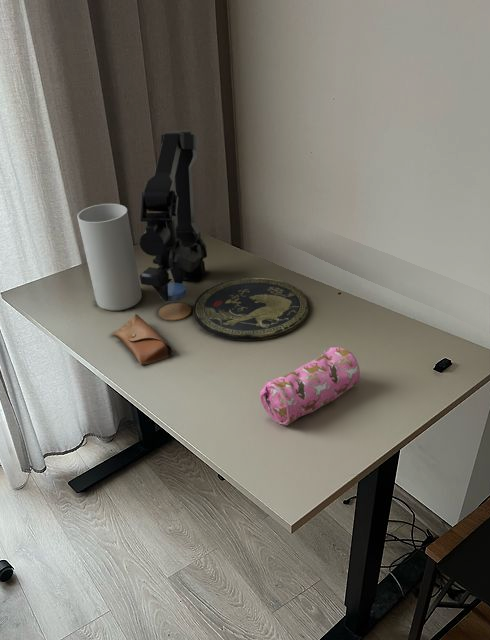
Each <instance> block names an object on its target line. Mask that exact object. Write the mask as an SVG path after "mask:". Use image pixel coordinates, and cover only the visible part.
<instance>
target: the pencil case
mask: <svg viewBox="0 0 490 640" xmlns="http://www.w3.org/2000/svg"><path fill="white" fill-rule="evenodd" d="M360 378H361V369H360V365H359V362H358V360H357V358H356V356H355V354H353V352H352V351H350V350H349V349H347V348H342V347H339V346H335V347H334V346H331V347H330V348H327V347H326V348H325V349H324V350H323V352H322V354H321V355H320V356H318V357H317V358H315V359H313V360H311V361H310V362H307V363H304V364H302V365H301V366H299V367H298V368H296V369H294V370H293V371H291V372H289V373H286V374H284V375H281V376H278V377H276V378H274V379H271V380H269V381H267V382H266V383H265V386H263V388H262V389H261V390H260V391H259V395H260V402H261V405H262V407H263V409H264V410H265V412H266V413H267V414H268V416H269V417H270V418H271V419H272V420H273V421H275V422H276V423H277V424H280V425H282V426H289V425H290V424H292V423H294V421H296V420H297V419H299V418H301V417H303V416H305V415H307V414H308V415H309V414H310V413H314V412H315V411H317V410H318V409H320V408H321V407H323V406H326V405H328V404H329V403H331V402H333V401H335V400H336V399H338V398H339V397H340V396H342V395H343V394H344V393H346V392H347V391H348V390H350V389H351V388H353V387H355V386H357V385H358V383H359V381H360Z"/></svg>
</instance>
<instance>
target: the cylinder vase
mask: <svg viewBox="0 0 490 640" xmlns="http://www.w3.org/2000/svg"><path fill="white" fill-rule="evenodd" d="M76 217H77V221H78V226H79V231H80V235H81V239H82V245H83V250H84V253H85V258H86V261H87V266H88V267H87V268H88V271H89V275H90V280H91V284H92V289H93V293H94V298H95V303H96V304H97V306H98V307H99V308H101V309H103V310H106V311H111V312H112V311H114V312H116V311H124V310H127V309H130V308H133V307H134V306H136V305H137V304H139V302H140V301H141V300H142V297H143V296H142V294H143V293H142V287H141V281H140V275H139V271H138V265H137V258H136V254H135V253H136V252H135V248H134V241H133V236H132V229H131V225H130V224H131V223H130V219H129V212H128V208H127V207H126V206H125V205H122V204H118V203H101V204H96V205H91V206H89V207H86V208H84V209H82V210H81V211H79V212H78V213H77V216H76Z"/></svg>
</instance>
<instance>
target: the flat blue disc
mask: <svg viewBox="0 0 490 640" xmlns="http://www.w3.org/2000/svg"><path fill="white" fill-rule="evenodd" d="M186 295H187V288H186V285H185V284H183V283H182V284H181V283H175V282H169V283H168V301H167V302H170V303H175V302H177V301H180V300H181V299H182V298H185V296H186ZM158 296H159V298H160V299H162V298H161V297H160V295H159V294H158Z"/></svg>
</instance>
